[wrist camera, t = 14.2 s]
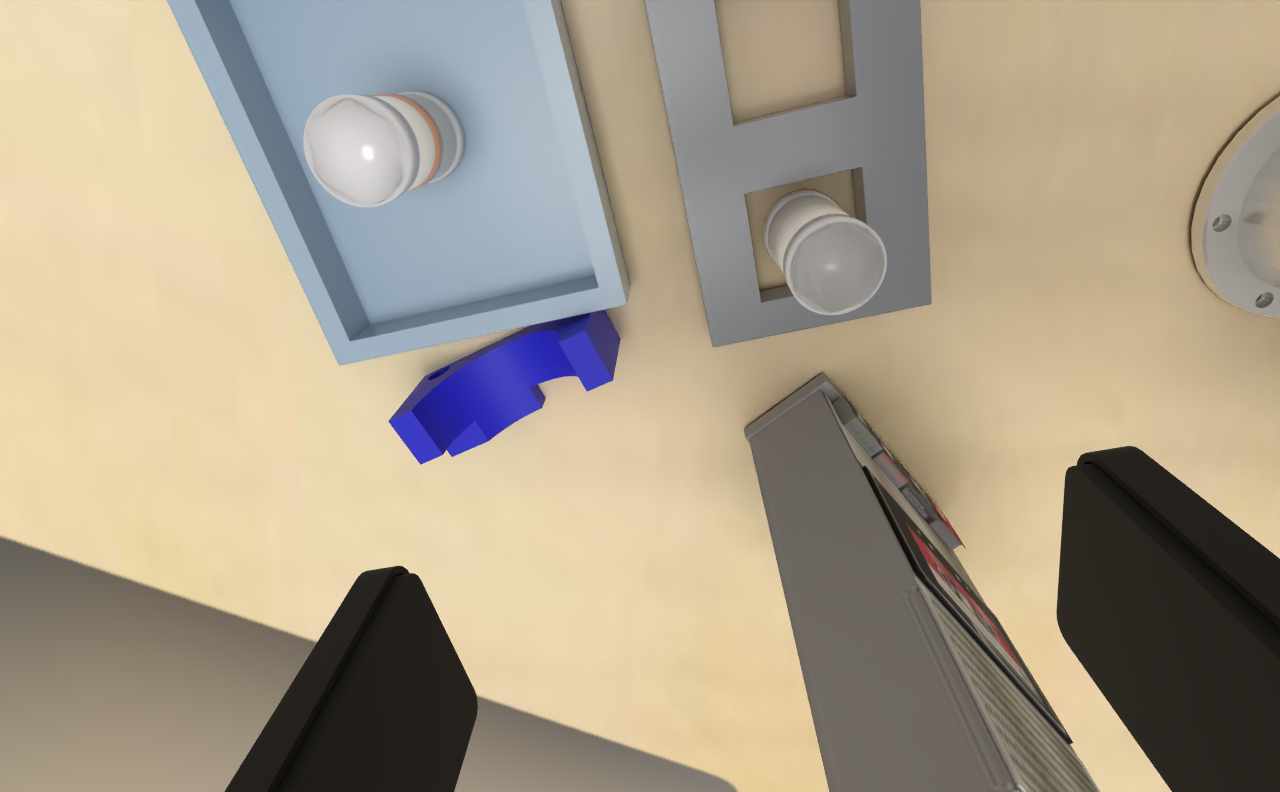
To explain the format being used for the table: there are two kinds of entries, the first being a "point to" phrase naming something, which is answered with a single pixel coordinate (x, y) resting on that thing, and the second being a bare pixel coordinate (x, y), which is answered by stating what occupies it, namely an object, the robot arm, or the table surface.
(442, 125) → the marked fuse
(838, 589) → the cassette tape recorder
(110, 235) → the table surface
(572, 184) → the tray
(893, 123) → the fuse holder
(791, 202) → the cylinder
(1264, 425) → the table surface
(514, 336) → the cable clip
